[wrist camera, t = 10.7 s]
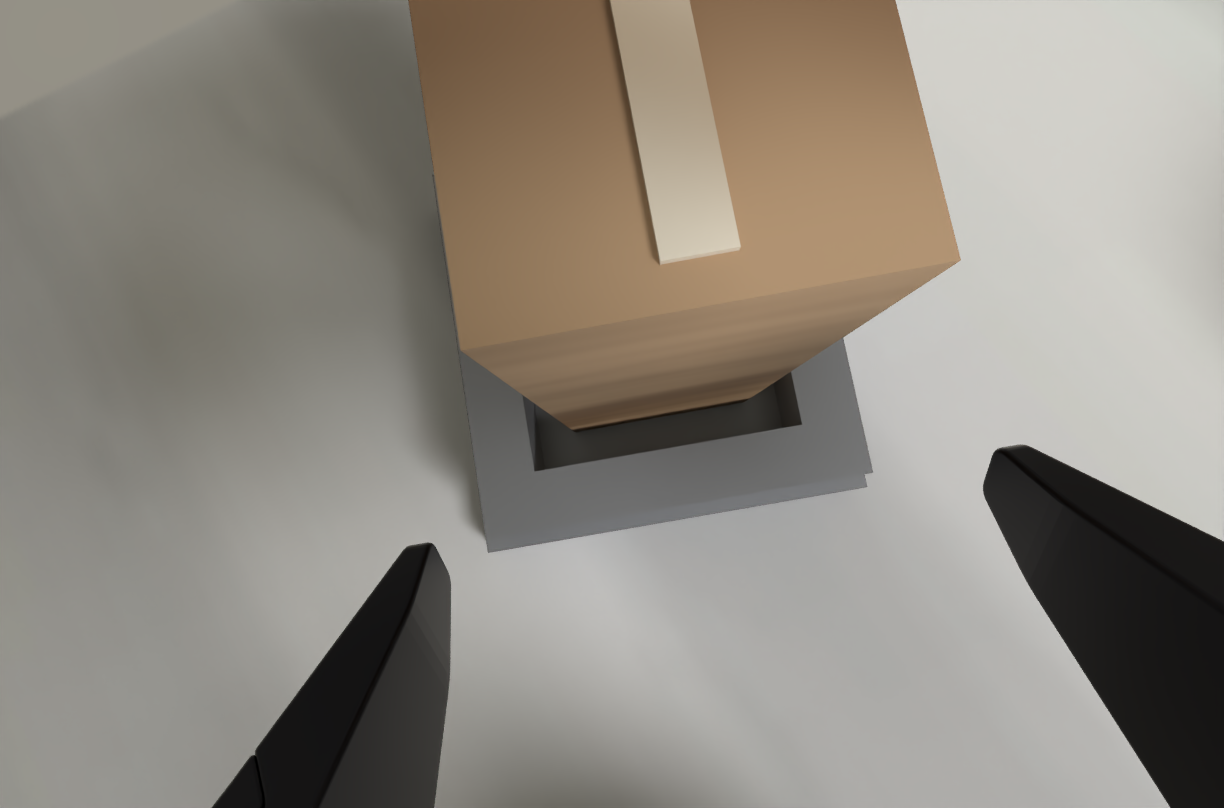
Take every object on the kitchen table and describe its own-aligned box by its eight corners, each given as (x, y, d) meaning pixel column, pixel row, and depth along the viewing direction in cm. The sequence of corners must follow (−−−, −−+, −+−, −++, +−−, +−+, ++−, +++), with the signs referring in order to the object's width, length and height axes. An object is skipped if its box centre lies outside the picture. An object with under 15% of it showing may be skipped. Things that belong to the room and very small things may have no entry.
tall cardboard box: (743, 402, 18) (965, 256, 6) (575, 432, 18) (457, 348, 6) (711, 239, 19) (852, -192, 7) (547, 269, 19) (390, -103, 7)
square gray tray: (854, 486, 19) (900, 489, 15) (495, 548, 19) (467, 563, 16) (780, 146, 20) (808, 84, 17) (445, 207, 20) (409, 157, 17)
